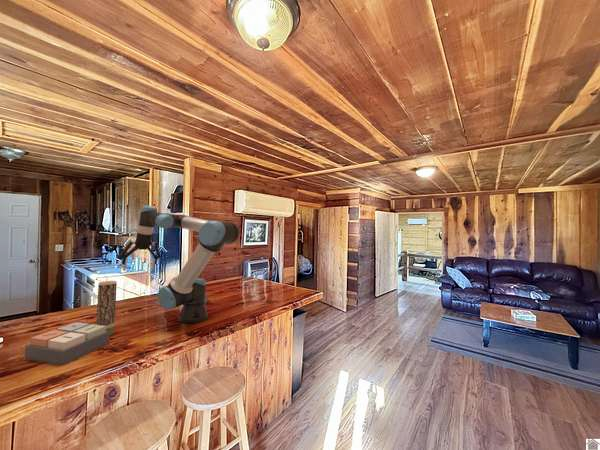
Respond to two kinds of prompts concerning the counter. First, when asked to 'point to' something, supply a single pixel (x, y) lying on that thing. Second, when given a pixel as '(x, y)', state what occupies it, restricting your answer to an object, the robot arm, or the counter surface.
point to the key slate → (73, 327)
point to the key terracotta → (45, 338)
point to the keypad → (65, 351)
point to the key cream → (66, 341)
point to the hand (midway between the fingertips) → (138, 269)
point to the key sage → (91, 331)
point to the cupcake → (206, 296)
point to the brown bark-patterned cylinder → (106, 305)
